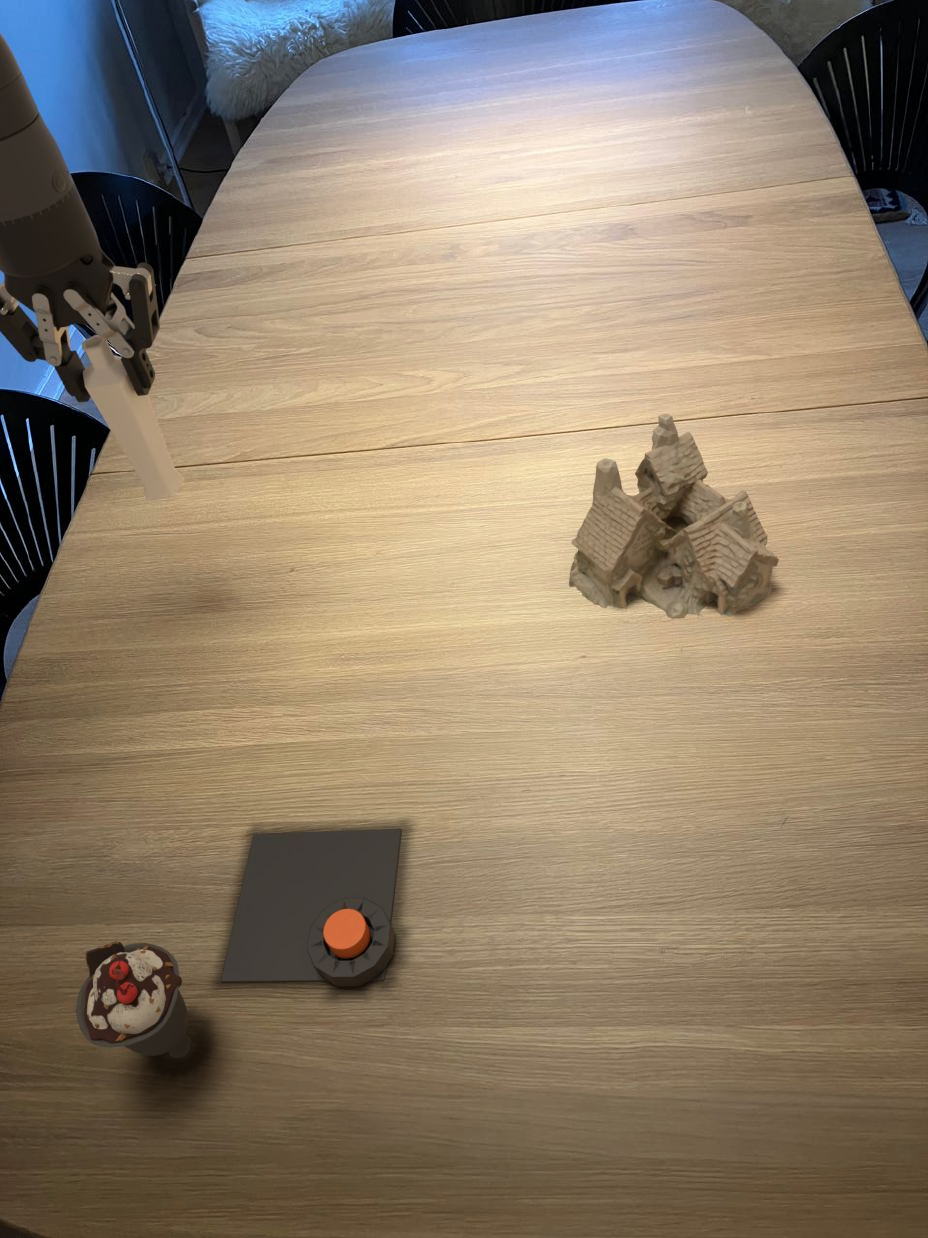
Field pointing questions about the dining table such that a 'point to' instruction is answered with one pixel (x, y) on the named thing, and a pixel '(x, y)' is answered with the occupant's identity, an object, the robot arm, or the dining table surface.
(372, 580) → the dining table surface
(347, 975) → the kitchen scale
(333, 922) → the button
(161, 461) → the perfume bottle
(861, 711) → the dining table surface
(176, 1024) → the sundae
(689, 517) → the ceramic cottage
